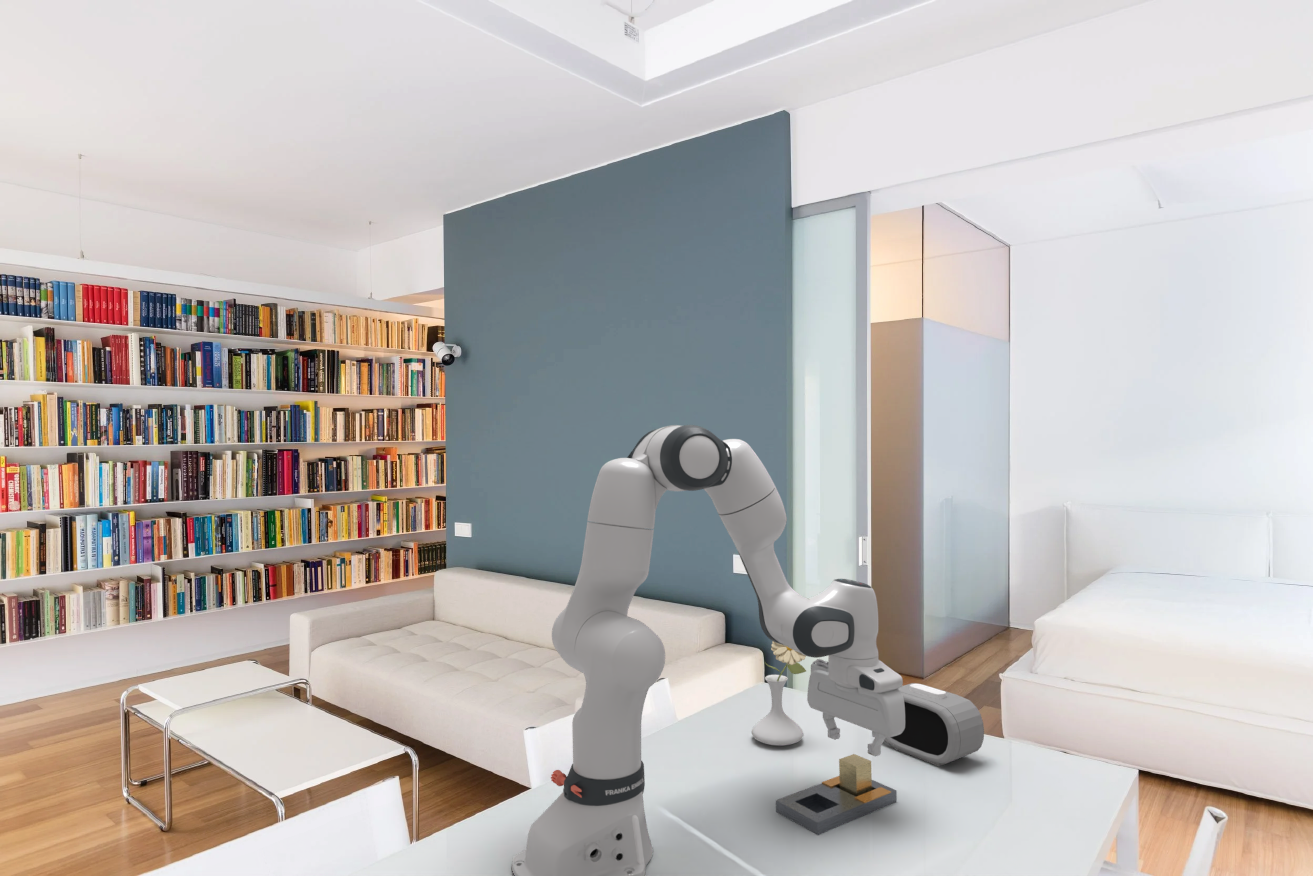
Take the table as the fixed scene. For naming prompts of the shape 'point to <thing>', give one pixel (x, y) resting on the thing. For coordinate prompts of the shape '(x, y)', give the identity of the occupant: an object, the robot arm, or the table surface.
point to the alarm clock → (938, 725)
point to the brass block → (855, 775)
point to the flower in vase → (780, 703)
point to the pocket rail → (832, 805)
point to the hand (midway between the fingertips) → (853, 746)
